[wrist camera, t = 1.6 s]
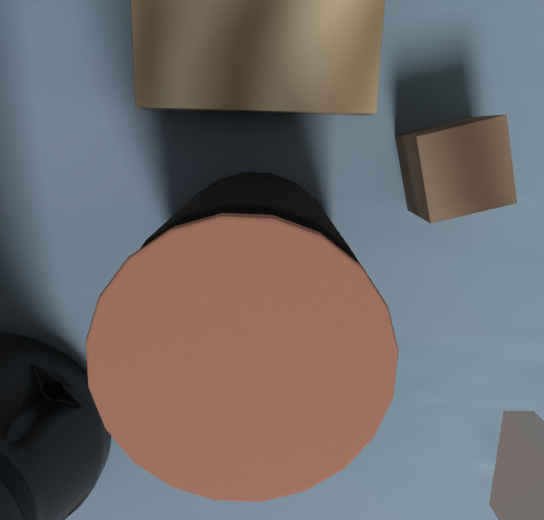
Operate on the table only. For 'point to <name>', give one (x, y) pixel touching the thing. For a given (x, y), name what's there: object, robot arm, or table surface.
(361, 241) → the table surface
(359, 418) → the coffee jar
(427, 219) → the cargo block
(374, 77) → the pallet dock
